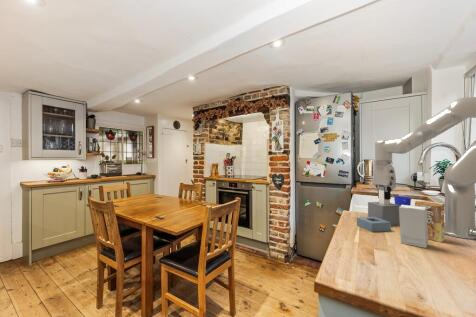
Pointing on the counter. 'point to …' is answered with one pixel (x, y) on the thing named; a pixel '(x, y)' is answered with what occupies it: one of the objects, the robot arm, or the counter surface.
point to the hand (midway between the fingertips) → (384, 198)
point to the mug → (402, 200)
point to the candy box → (434, 219)
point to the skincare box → (413, 225)
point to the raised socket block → (384, 212)
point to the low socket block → (373, 224)
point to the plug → (381, 196)
